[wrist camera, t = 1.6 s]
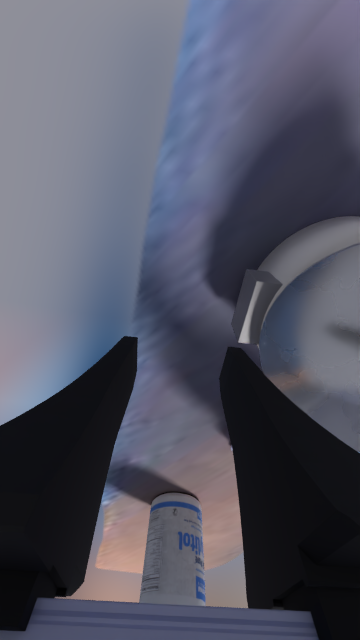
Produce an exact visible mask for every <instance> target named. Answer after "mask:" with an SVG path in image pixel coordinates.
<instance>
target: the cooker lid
mask: <svg viewBox="0 0 360 640" xmlns="http://www.w3.org/2000/svg"><path fill="white" fill-rule="evenodd" d="M259 357H260V362H261V367H262V370H263V372H264V374H265V375H266V376H267V378H268V379H269V380H270V381H271V382H272V383H273V384H274V385H275V386H276V387H277V388H278V389H279V390H280V391H281V392H282V393H284V394H285V395H286V396H287V397H288V398H289V399H290V400H291V401H292V402H293V403H294V404H295V405H297V406H298V407H299V408H300V409H301V410H303V411H304V412H305V413H306V414H307V415H308V416H310V417H311V418H312V419H313V420H315V421H316V422H317V423H318V424H320V425H321V426H322V427H324V428H325V429H326V430H328V431H329V432H330V433H332V434H333V435H334V436H336V437H337V438H338V439H340V440H341V441H343V442H344V443H346V444H347V445H348V446H350V447H351V448H353V449H354V450H356V451H358V452H360V242H359V243H356V244H353V245H350V246H348V247H345V248H343V249H341V250H339V251H336V252H334V253H332V254H330V255H328V256H326V257H324V258H323V259H321V260H319V261H317V262H315V263H314V264H312V265H311V266H309V267H308V268H307V269H305V270H304V271H303V272H301V273H300V274H299V275H297V276H296V277H295V278H294V279H293V280H292V281H291V282H290V283H289V284H288V285H287V286H286V287H285V288H284V289H283V290H282V292H281V293H280V294H279V295H278V296H277V298H276V300H275V301H274V303H273V304H272V306H271V308H270V309H269V311H268V313H267V316H266V318H265V320H264V322H263V326H262V329H261V333H260V341H259Z"/></svg>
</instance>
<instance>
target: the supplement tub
mask: <svg viewBox="0 0 360 640" xmlns="http://www.w3.org/2000/svg"><path fill="white" fill-rule="evenodd" d="M139 603H153V604H172V605H191V606H205V580H204V557H203V534H202V513H201V505H200V503H199V501H198V500H197V499H196V498H194V497H192V496H190V495H187V494H181V493H166V494H162V495H160V496H158V497H156V498H155V499H154V500H153V502H152V504H151V511H150V519H149V527H148V535H147V544H146V551H145V560H144V568H143V576H142V584H141V593H140V601H139Z"/></svg>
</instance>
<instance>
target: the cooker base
mask: <svg viewBox="0 0 360 640" xmlns="http://www.w3.org/2000/svg"><path fill="white" fill-rule="evenodd" d="M359 242H360V217H359V216H343V217H335V218H331V219H326V220H323V221H320V222H317V223H314V224H311V225H309V226H307V227H305V228H303V229H301V230H299V231H298V232H296V233H294V234H293V235H291V236H289V237H288V238H287V239H285V240H284V241H283V242H282V243H280V244H279V245H278V246H277V247H276V248H275V249H274V250H273V251H272V252H271V253H270V254H269V255H268V256H267V257H266V258H265V260H264V261H263V262H262V263H261V265H260V266H259V268H258V269H257V270H251V269H246V272H245V275H244V279H243V283H242V286H241V290H240V294H239V297H238V301H237V305H236V309H235V312H234V316H233V320H232V323H231V325H232V327H233V330H234V333H235V335H236V338H237V341H238V343H248V344H256V345H257V347H258V349H259V341H260V333H261V329H262V326H263V322H264V320H265V318H266V316H267V313H268V311H269V309H270V308H271V306H272V304H273V303H274V301H275V300H276V298H277V296H278V295H279V294H280V293H281V292H282V290H283V289H284V288H285V287H286V286H287V285H288V284H289V283H290V282H291V281H292V280H293V279H294V278H295V277H296V276H297V275H299V274H300V273H301V272H303V271H304V270H305V269H307V268H308V267H309V266H311V265H312V264H314V263H315V262H317V261H319V260H321V259H323V258H324V257H326V256H328V255H330V254H332V253H334V252H336V251H339V250H341V249H343V248H345V247H348V246H350V245H353V244H356V243H359Z"/></svg>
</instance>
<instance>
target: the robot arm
mask: <svg viewBox="0 0 360 640" xmlns="http://www.w3.org/2000/svg"><path fill="white" fill-rule="evenodd" d="M137 341H138V337H128V336H124V337H123V338H122V339H121V340H120V341H119V342H118V343H117V344H116V345H115V346H114V347H113V348H112V349H111V350H110V351H109V352H108V353H107V354H106V355H104V356H103V357H102V358H101V359H100V360H99V361H98V362H97V363H96V364H94V365H93V366H92V367H91V368H90V369H88V370H87V371H86V372H85V373H84V374H82V375H81V376H80V377H79V378H78V379H76V380H75V381H73V382H72V383H71V384H70V385H68V386H66V387H65V388H64V389H63V390H61V391H59V392H58V393H56V394H55V395H53V396H52V397H50V398H49V399H47V400H46V401H44V402H42V403H40V404H39V405H37V406H35V407H34V408H32V409H30V410H29V411H27V412H25V413H23V414H22V415H20V416H18V417H16V418H14V419H12V420H11V421H9V422H7V423H5V424H3V425H1V426H0V640H360V453H359V452H357V451H356V450H354V449H353V448H351V447H350V446H348V445H347V444H346V443H344V442H343V441H341V440H340V439H338V438H337V437H336V436H334V435H333V434H332V433H330V432H329V431H328V430H326V429H325V428H324V427H322V426H321V425H320V424H318V423H317V422H316V421H315V420H313V419H312V418H311V417H310V416H308V415H307V414H306V413H305V412H304V411H303V410H301V409H300V408H299V407H298V406H297V405H295V404H294V403H293V402H292V401H291V400H290V399H289V398H288V397H287V396H286V395H285V394H284V393H282V392H281V391H280V390H279V389H278V388H277V387H276V386H275V385H274V384H273V383H272V382H271V381H270V380H269V379H268V378H267V376H266V375H265V374H264V373H263V372H262V371H261V370H260V369H259V368H258V367H257V366H256V364H255V363H254V362H253V361H252V360H251V359H250V358H249V357H248V356H247V354H246V353H245V352H244V351H243V350H242V349H241V348H234V347H228V349H227V353H226V356H225V360H224V363H223V367H222V371H221V374H220V378H219V380H220V391H221V399H222V404H223V408H224V413H225V418H226V422H227V426H228V431H229V435H230V440H231V444H232V445H231V450H232V451H233V455H234V463H235V471H236V478H237V487H238V496H239V505H240V516H241V527H242V537H243V550H244V564H245V576H246V594H247V602H248V608H229V607H210V606H191V605H172V604H153V603H132V602H114V601H113V602H112V601H95V600H75V599H56V598H55V597H66V596H71V595H72V594H73V593H75V592H76V590H77V589H78V588H79V587H80V586H81V585H82V584H83V582H84V578H85V574H86V569H87V563H88V559H89V554H90V550H91V545H92V540H93V535H94V531H95V526H96V522H97V517H98V513H99V508H100V504H101V499H102V495H103V491H104V486H105V482H106V478H107V473H108V469H109V465H110V461H111V457H112V453H113V449H114V445H115V441H116V438H117V435H118V432H119V429H120V426H121V423H122V420H123V417H124V414H125V411H126V408H127V405H128V402H129V399H130V396H131V393H132V390H133V386H134V382H135V377H136V372H137Z"/></svg>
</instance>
